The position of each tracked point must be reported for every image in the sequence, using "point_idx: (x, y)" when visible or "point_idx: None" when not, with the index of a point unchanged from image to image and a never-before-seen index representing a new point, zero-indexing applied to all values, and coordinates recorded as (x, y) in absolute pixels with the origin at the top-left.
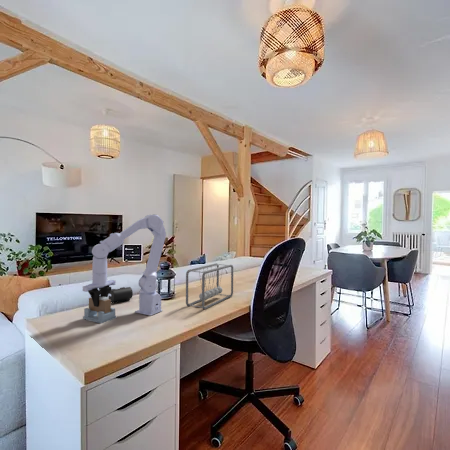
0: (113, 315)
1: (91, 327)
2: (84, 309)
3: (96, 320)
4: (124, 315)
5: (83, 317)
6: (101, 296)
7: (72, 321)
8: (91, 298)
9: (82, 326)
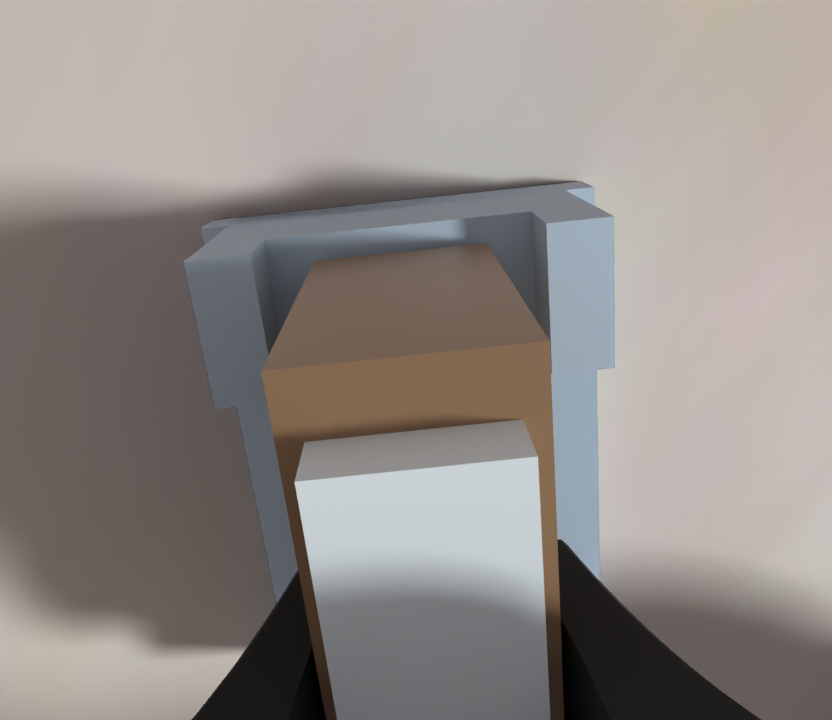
0: None
1: (125, 678)
2: (190, 263)
3: (274, 584)
4: (746, 619)
5: (207, 236)
6: (585, 713)
7: (7, 180)
8: (291, 518)
9: (45, 552)
